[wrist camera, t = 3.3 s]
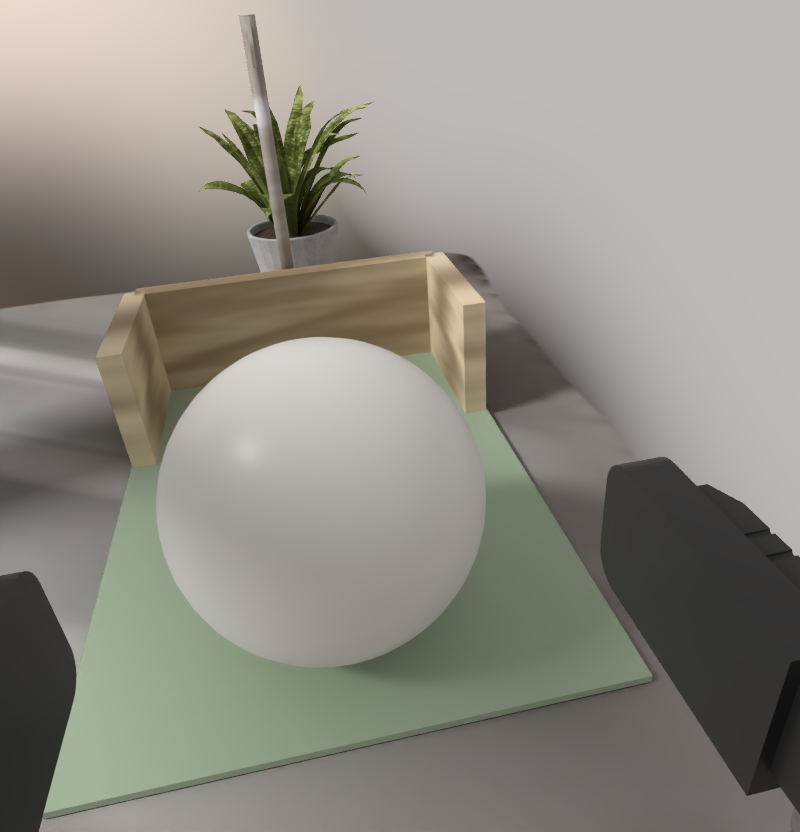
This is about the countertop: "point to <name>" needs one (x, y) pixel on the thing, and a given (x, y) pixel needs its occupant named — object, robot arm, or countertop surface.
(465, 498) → the ball
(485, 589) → the green mat
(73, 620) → the countertop surface
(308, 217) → the house plant
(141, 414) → the wooden u-shaped frame
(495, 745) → the countertop surface
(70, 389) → the countertop surface
